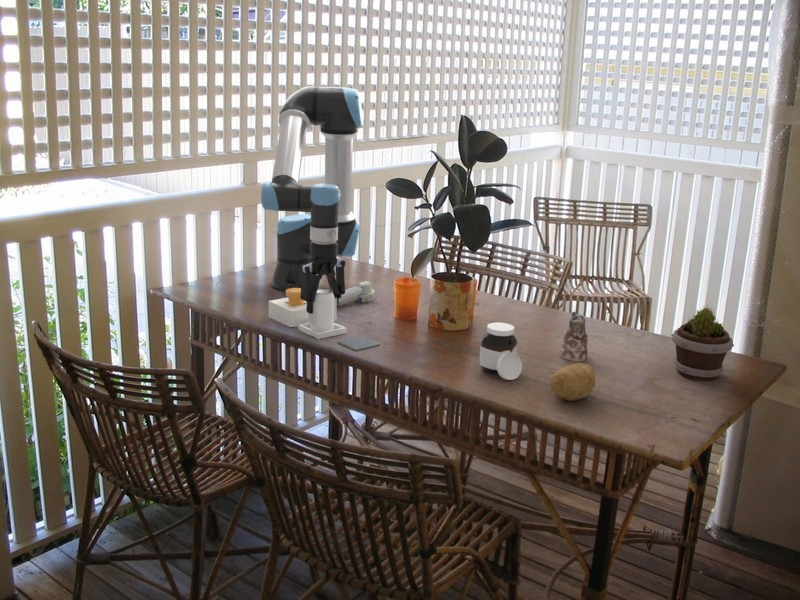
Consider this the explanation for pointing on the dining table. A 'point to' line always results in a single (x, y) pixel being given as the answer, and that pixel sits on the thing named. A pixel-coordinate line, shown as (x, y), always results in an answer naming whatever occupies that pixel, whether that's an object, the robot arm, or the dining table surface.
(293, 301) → the plunger
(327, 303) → the can
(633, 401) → the dining table surface
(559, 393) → the potato
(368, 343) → the mat
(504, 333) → the spread jar
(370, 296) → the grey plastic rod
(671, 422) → the dining table surface
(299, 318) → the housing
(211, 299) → the dining table surface
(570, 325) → the figurine
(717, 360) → the flowerpot
